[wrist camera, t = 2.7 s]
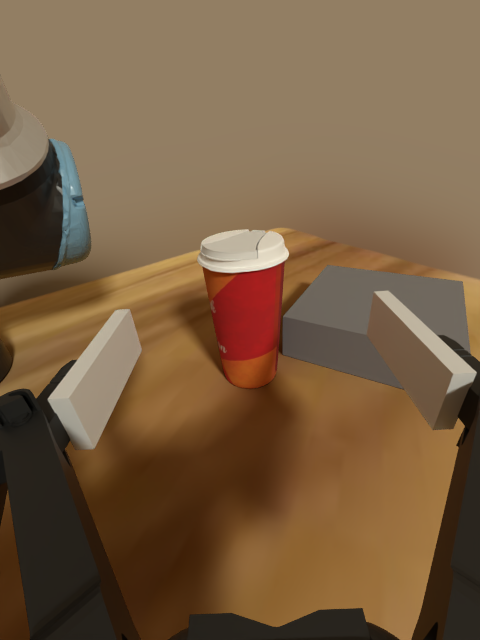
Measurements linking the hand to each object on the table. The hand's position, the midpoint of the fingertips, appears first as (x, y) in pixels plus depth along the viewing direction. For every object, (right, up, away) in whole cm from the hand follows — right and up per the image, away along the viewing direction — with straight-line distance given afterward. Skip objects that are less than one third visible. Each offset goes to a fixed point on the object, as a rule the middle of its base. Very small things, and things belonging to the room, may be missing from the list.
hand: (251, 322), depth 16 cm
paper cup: (0, -5, +15) cm, 16 cm away
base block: (+15, -2, +19) cm, 24 cm away
